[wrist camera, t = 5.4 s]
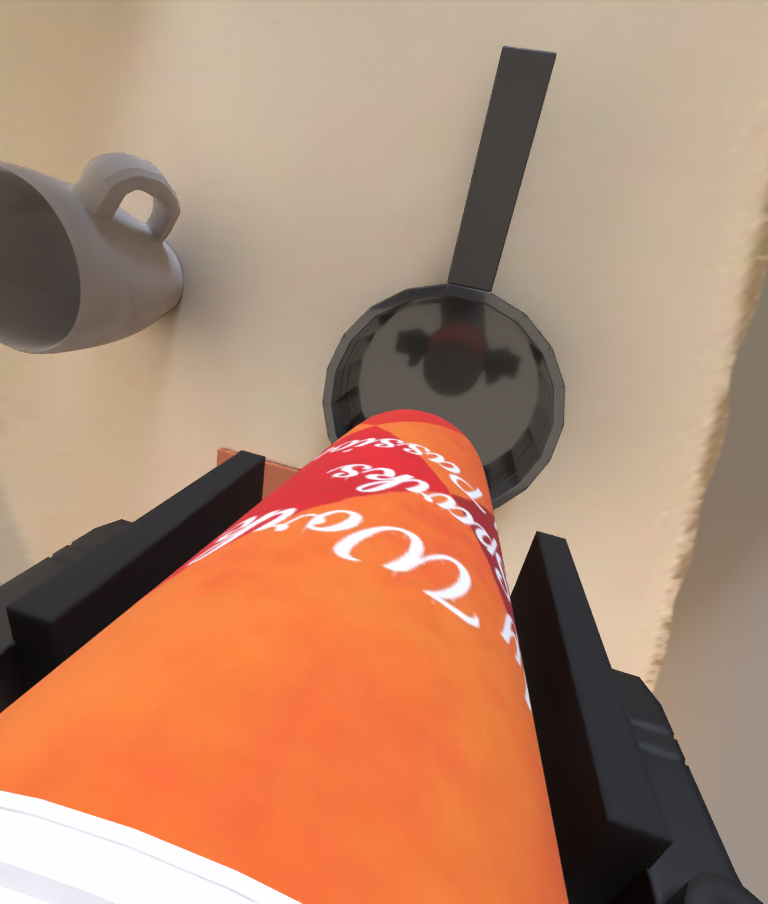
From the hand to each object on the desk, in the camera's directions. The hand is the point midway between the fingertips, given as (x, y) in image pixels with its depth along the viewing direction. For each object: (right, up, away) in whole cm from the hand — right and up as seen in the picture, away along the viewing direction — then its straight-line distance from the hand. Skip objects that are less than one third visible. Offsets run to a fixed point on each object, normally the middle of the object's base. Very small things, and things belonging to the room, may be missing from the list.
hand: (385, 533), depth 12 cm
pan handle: (+6, +16, +9) cm, 19 cm away
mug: (-15, +16, +17) cm, 28 cm away
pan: (+4, +6, +16) cm, 17 cm away
